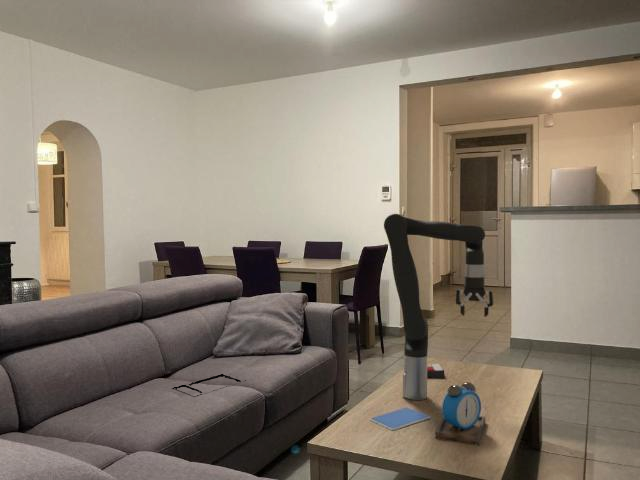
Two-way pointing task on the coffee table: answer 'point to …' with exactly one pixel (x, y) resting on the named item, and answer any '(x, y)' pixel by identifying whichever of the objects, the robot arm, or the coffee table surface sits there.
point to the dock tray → (461, 432)
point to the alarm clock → (461, 406)
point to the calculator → (435, 371)
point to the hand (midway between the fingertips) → (474, 315)
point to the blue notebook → (399, 418)
